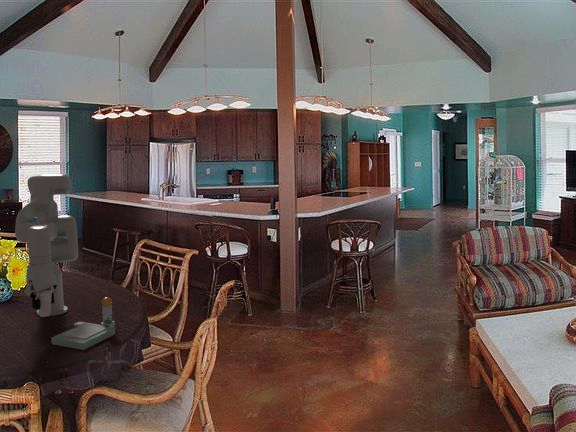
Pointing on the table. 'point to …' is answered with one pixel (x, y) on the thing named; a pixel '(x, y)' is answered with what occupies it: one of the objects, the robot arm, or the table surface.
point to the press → (83, 335)
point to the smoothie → (45, 302)
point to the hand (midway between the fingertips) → (43, 305)
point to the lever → (107, 312)
